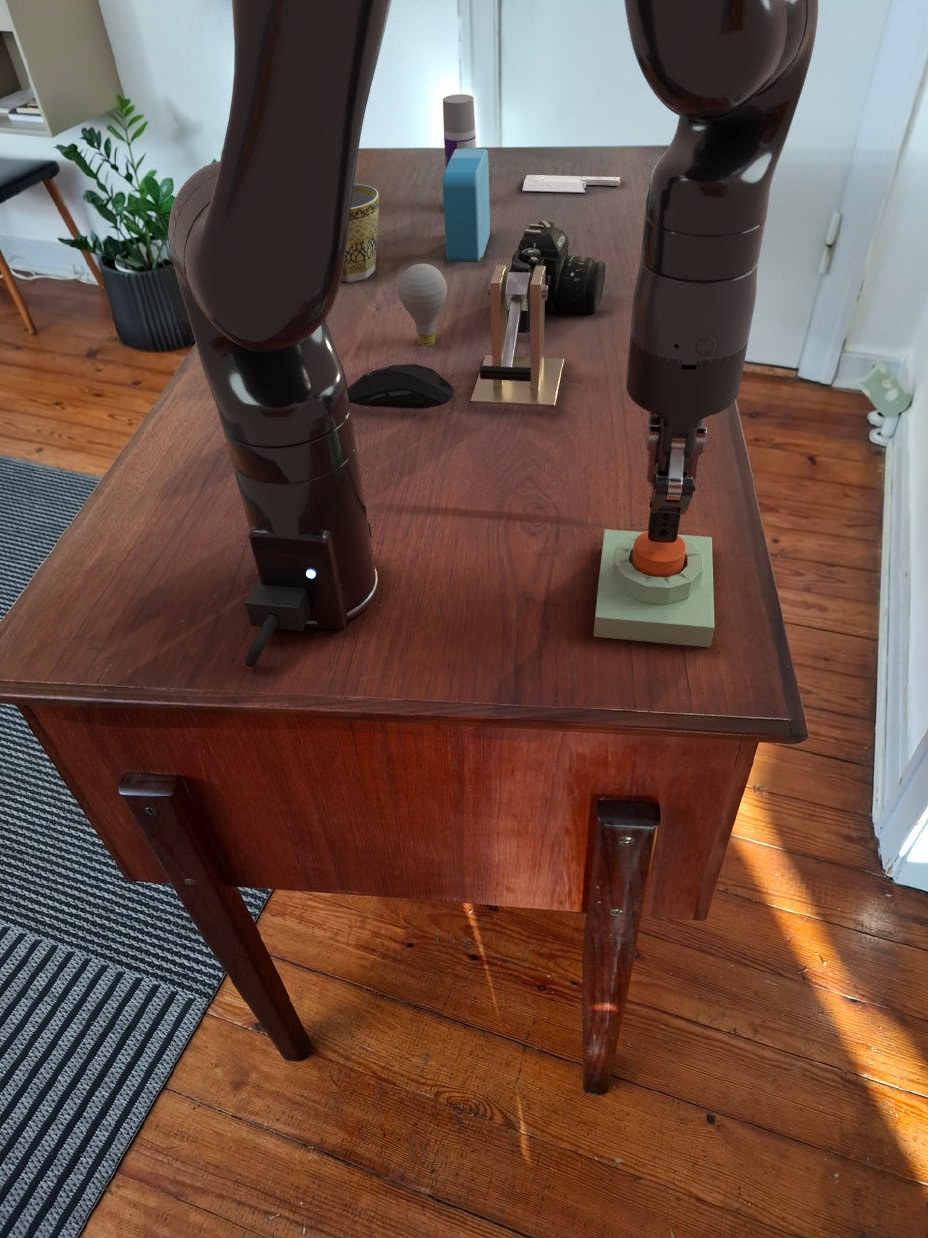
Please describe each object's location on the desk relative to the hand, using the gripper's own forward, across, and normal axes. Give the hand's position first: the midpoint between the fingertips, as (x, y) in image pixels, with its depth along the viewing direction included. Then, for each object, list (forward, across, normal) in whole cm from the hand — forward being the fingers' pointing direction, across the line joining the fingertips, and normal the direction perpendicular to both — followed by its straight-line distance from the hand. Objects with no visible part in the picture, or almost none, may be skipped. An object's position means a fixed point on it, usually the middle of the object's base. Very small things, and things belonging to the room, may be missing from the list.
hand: (661, 536), depth 70 cm
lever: (-2, -28, -15) cm, 32 cm away
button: (+2, 0, 0) cm, 2 cm away
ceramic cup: (+6, -62, -43) cm, 76 cm away
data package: (+6, -69, -27) cm, 74 cm away
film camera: (+6, -51, -13) cm, 53 cm away
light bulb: (+6, -40, -27) cm, 49 cm away
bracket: (+6, -32, -15) cm, 36 cm away
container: (+6, -86, -31) cm, 92 cm away
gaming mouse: (+6, -28, -29) cm, 41 cm away
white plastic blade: (+6, -95, -15) cm, 96 cm away
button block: (+6, 0, 0) cm, 6 cm away
